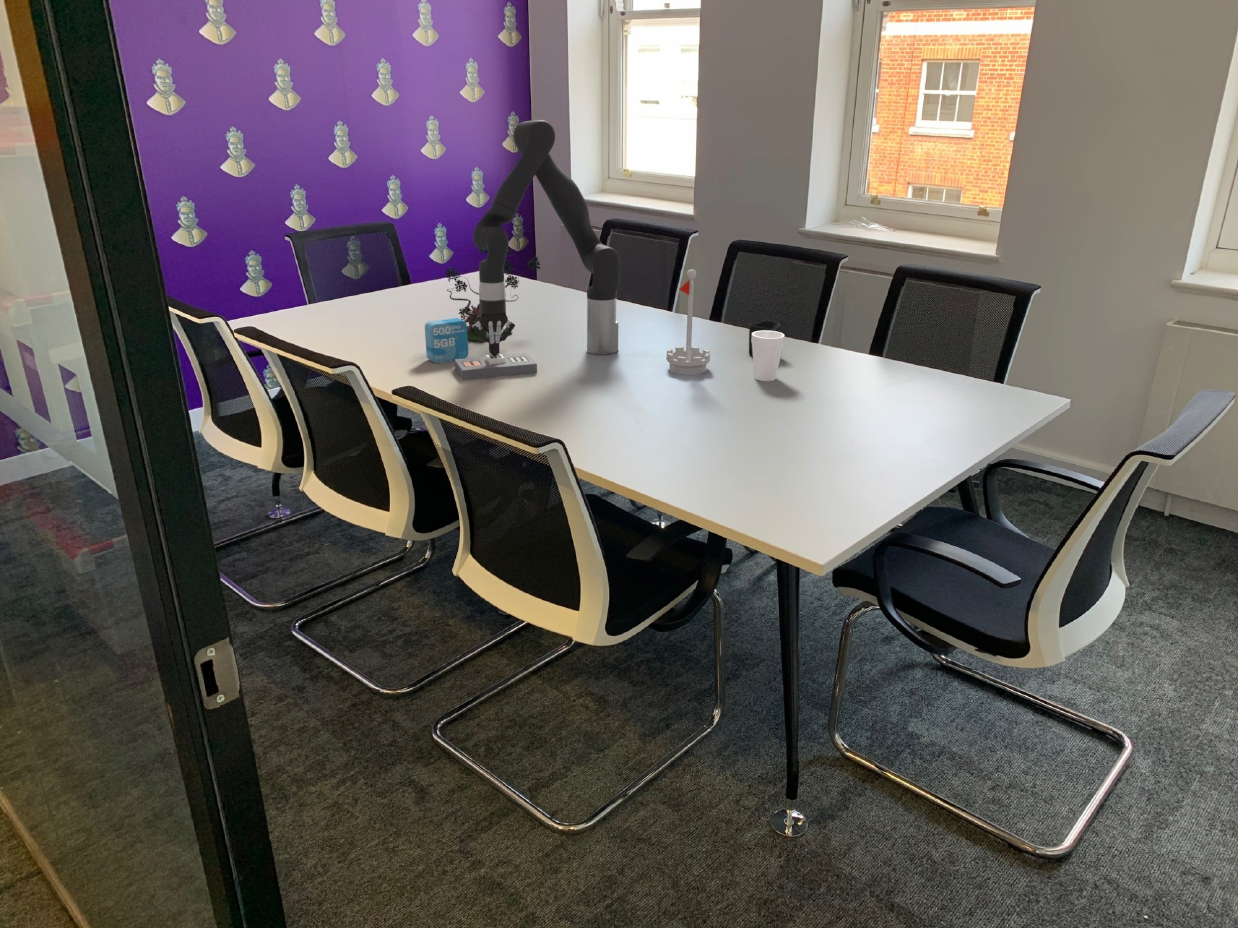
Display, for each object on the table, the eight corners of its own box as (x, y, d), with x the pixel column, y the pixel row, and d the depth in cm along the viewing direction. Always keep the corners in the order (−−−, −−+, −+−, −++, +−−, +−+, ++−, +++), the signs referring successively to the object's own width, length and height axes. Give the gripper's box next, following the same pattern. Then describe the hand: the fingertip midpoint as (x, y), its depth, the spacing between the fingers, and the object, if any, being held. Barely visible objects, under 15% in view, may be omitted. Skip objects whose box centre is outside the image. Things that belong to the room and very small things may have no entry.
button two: (524, 366, 285) (523, 356, 284) (528, 370, 281) (527, 360, 280) (509, 367, 283) (508, 357, 282) (513, 372, 279) (512, 361, 278)
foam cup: (760, 384, 271) (763, 340, 266) (742, 375, 279) (745, 332, 274) (787, 380, 275) (791, 336, 270) (768, 371, 283) (772, 329, 278)
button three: (501, 363, 282) (500, 353, 281) (505, 367, 278) (504, 357, 277) (486, 365, 281) (485, 354, 279) (489, 369, 277) (489, 358, 275)
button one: (478, 370, 280) (477, 360, 279) (481, 374, 276) (481, 364, 275) (463, 372, 279) (462, 361, 278) (466, 376, 275) (465, 365, 274)
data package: (432, 364, 286) (429, 325, 282) (426, 360, 290) (424, 322, 285) (468, 358, 292) (466, 320, 288) (462, 355, 296) (460, 317, 291)
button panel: (526, 362, 289) (526, 353, 288) (537, 373, 278) (536, 363, 277) (454, 369, 282) (454, 359, 280) (463, 380, 271) (462, 370, 270)
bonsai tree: (484, 352, 298) (479, 251, 286) (432, 339, 312) (426, 242, 300) (559, 332, 323) (557, 238, 311) (508, 320, 338) (505, 230, 325)
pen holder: (776, 360, 294) (779, 328, 290) (746, 358, 296) (748, 326, 292) (778, 352, 303) (780, 321, 299) (748, 350, 304) (750, 319, 301)
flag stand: (686, 360, 292) (689, 263, 281) (718, 369, 284) (723, 269, 272) (657, 369, 284) (659, 269, 273) (689, 378, 275) (693, 275, 264)
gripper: (511, 292, 277) (513, 350, 283) (466, 295, 273) (469, 353, 279) (518, 298, 270) (519, 356, 277) (472, 300, 266) (474, 360, 273)
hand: (494, 355), depth 278 cm, fingers closed
